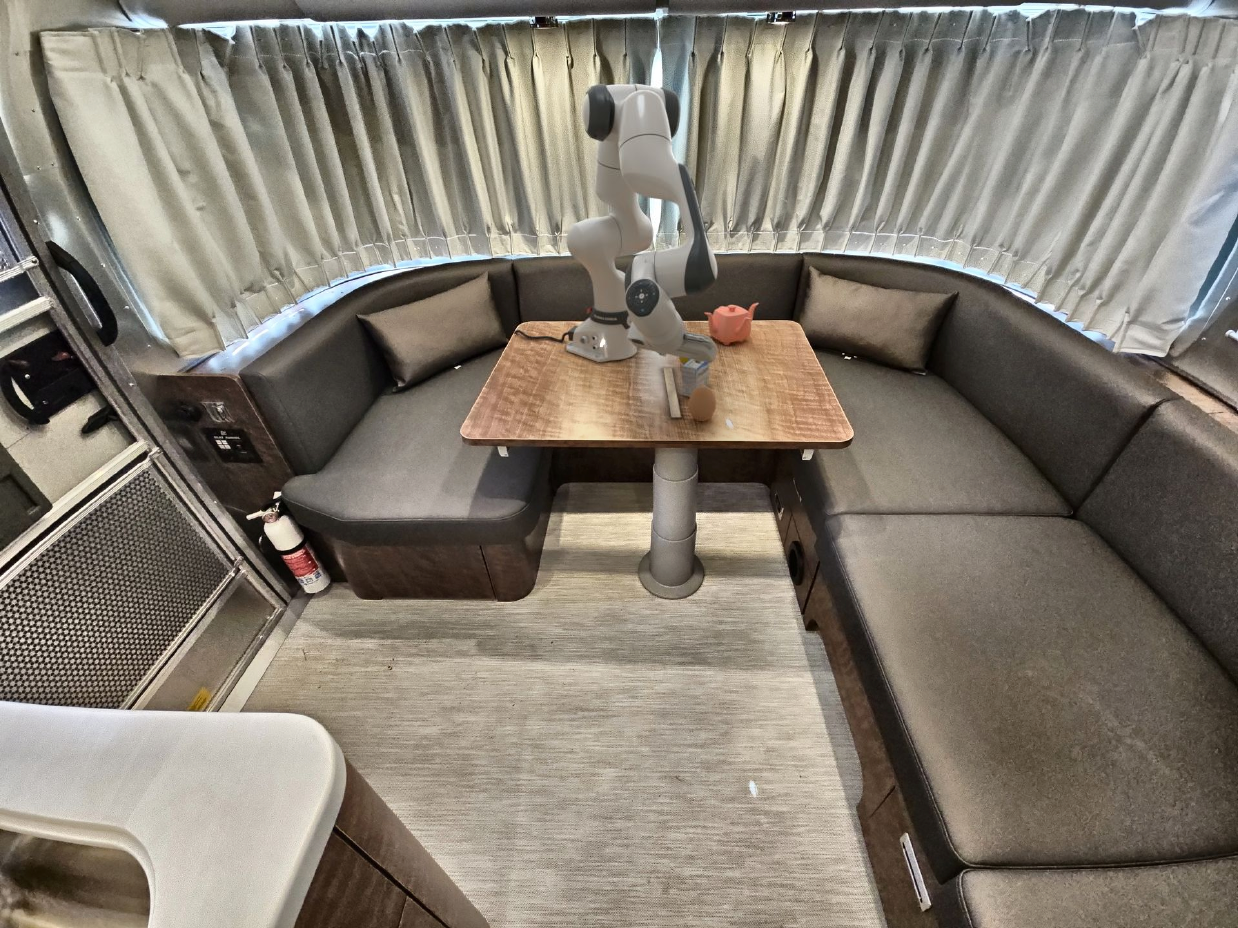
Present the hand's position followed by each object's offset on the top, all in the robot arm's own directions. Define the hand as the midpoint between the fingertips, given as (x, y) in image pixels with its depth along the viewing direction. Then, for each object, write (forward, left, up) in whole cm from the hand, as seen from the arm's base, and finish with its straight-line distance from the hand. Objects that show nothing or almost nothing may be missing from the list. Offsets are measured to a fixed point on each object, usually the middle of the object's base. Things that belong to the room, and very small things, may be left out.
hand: (681, 357), depth 129 cm
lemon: (-8, +23, -14) cm, 28 cm away
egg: (+7, -3, -14) cm, 16 cm away
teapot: (-3, +47, -14) cm, 49 cm away
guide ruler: (-5, +6, -14) cm, 16 cm away
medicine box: (0, +9, -14) cm, 17 cm away
